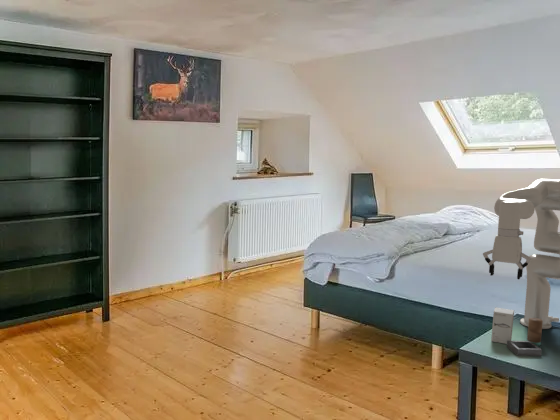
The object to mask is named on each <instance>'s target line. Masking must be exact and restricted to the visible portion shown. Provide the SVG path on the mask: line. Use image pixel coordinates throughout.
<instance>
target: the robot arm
mask: <svg viewBox="0 0 560 420" xmlns="http://www.w3.org/2000/svg"><path fill="white" fill-rule="evenodd" d="M493 207H494V212H495V214H496V215H497V216H498V224H497V225H498V226H497V234H496V235H495V237H494V241H493V247H492V249H490V250H487V251H484V252H483V253H482V256H483V258H484V261H485V262H486V263H487V264H488V267H489V271H488V272H489V274H490V276H494V274H495V264H494V263H496V262H498V263H499V262H500V263H508V264H515V265H516V266H517V267H518V269H517V274H516V275H517V276H516V279H517V280H520V279H521V278H523V270H524V269H525V268H526V288H525V289H526V290H525V291H526V292H525V304H524V305H525V306H524V316H523V317H522V318H520V320H519V322H520V324H521V325H523V326H525V327H527V328H528V322H529V318H538V319H541V320H543V323H542V330H548V329H552V322H554V323H559V322H560V318H559V317H555V316H550V315H549V312H550V311H549V310H550V301H551V299H550V298H551V288H552V287H551V284H550V282H549V280H548V279H554V280H559V281H560V231H559V224H560V220H559V218H558V215H556V212H554V211H560V179H553V178H538V179H535V180H533V182H531V183H530V184H528V186H526V187H525V188H520V189H517V190H512V191H507V192H505V193H503V194H501V196H499V197H498V199H496V201H495V203H494V206H493ZM534 213H536V216H537V217H536V218H537V221H536V228H535V235H534V240H533V247H534V249H535V250H536V251H538V252H543V253H548V254H554V255H555V254H556V255H559V257H558V256H554V255H553V256H552V255H548V254H538V253H537V254H530V255H529V256H528V255H527V254H525V253H523V241H522V237H521V235H522V236H523V235H524V231H522V230H520V226H521V220H528V219H530V218H532V216H534ZM489 255H491V259H490V258H489ZM522 259H524V260H525V262H523V263H522ZM547 278H548V279H547Z"/></svg>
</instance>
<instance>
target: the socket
mask: <svg viewBox="0 0 560 420" xmlns="http://www.w3.org/2000/svg"><path fill="white" fill-rule="evenodd" d="M506 348H507V349H508V350H510V351H512V352H513V354H514V355H516V356H518V357H520V356H522V357H523V356H524V357H525V356H527V357H542V348H540V346H536V345H535V344H533V343H532V342H531V341H527V340H511V341H507V344H506Z"/></svg>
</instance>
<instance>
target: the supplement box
mask: <svg viewBox="0 0 560 420" xmlns="http://www.w3.org/2000/svg"><path fill="white" fill-rule="evenodd" d="M514 317H515V310H514V309H507V308H503V307H497V306H496V307H494V310H493V316H492V325H491V326H492V328H491V329H492V330H491V338H490V339H491V340H490V342H494V343H499V344H505V345H507V341H512V336H513V327H514V326H513V325H514Z"/></svg>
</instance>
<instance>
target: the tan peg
mask: <svg viewBox="0 0 560 420" xmlns="http://www.w3.org/2000/svg"><path fill="white" fill-rule="evenodd" d="M542 323H543V320H541V319H538V318H529V322H528V327H527V334H526V335H527V338H526V341H531V342H532V343H533V344H535V345H536V346H537V347H540V346H542V345H541V344H542V334H543V333H542V332H543V331H542V330H543V329H542Z"/></svg>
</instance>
